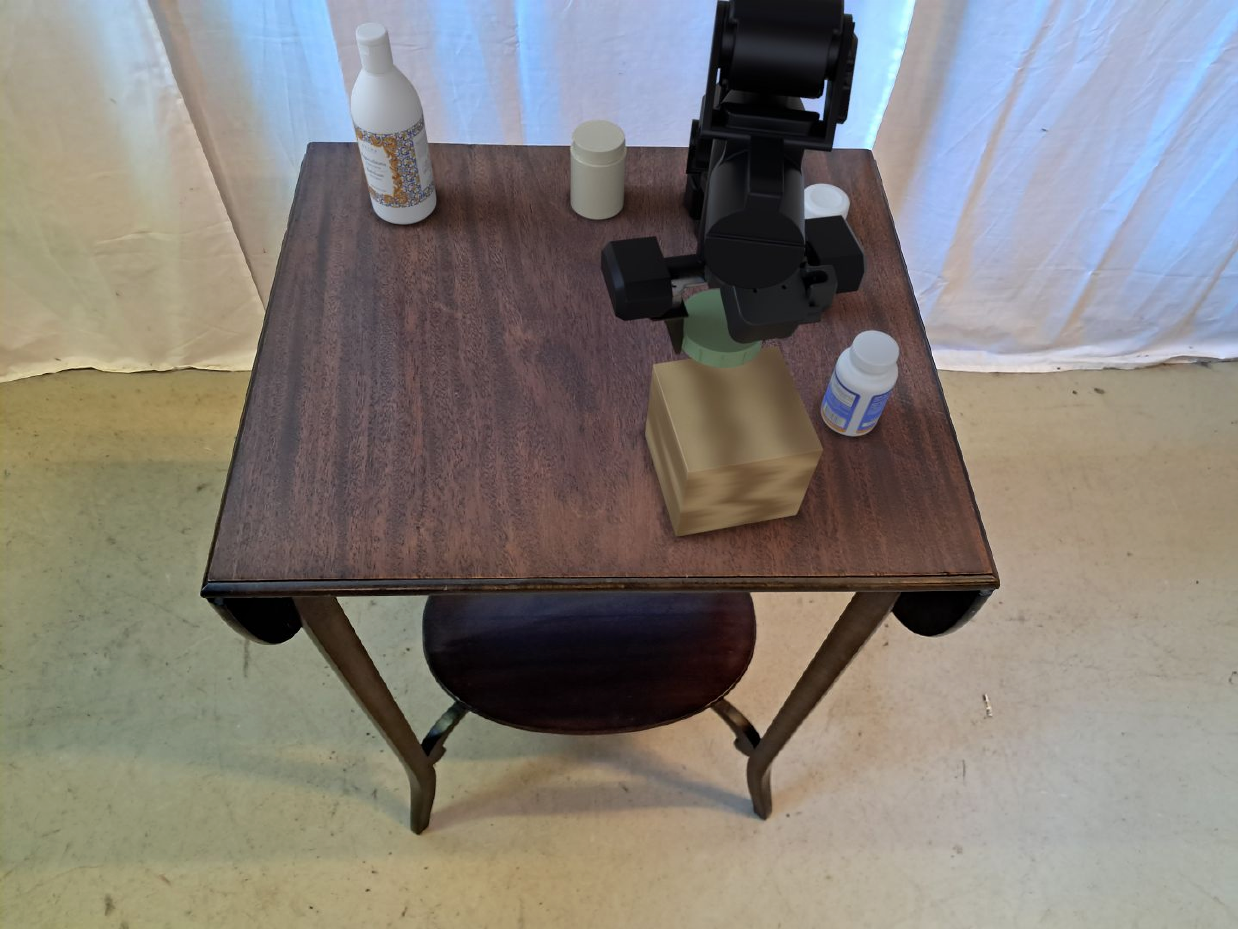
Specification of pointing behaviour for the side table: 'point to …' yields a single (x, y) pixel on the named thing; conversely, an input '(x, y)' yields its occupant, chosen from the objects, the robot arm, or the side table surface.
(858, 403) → the pill bottle
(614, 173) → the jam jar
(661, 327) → the side table surface
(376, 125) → the bath foam
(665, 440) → the oak stand
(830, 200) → the sprinkles bottle
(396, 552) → the side table surface
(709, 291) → the jar lid
